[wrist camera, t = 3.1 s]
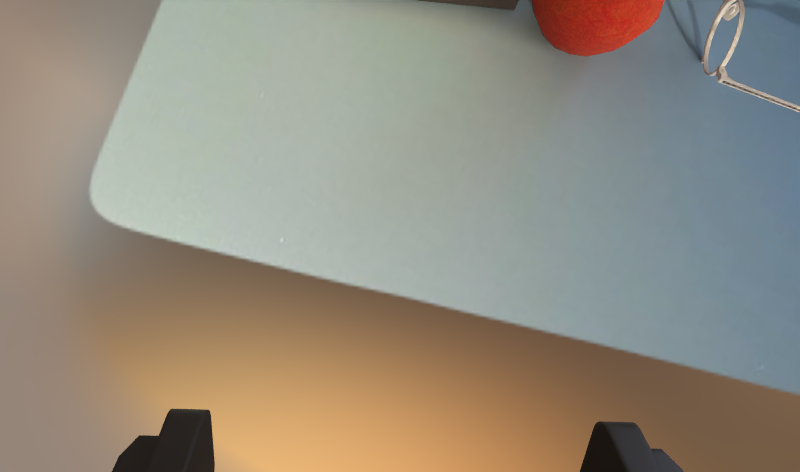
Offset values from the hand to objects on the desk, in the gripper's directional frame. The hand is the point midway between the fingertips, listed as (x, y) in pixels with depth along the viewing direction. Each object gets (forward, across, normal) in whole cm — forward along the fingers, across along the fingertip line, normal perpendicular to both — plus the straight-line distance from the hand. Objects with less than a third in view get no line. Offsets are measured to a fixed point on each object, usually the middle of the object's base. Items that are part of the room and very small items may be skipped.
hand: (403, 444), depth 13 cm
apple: (+33, -13, -4) cm, 36 cm away
